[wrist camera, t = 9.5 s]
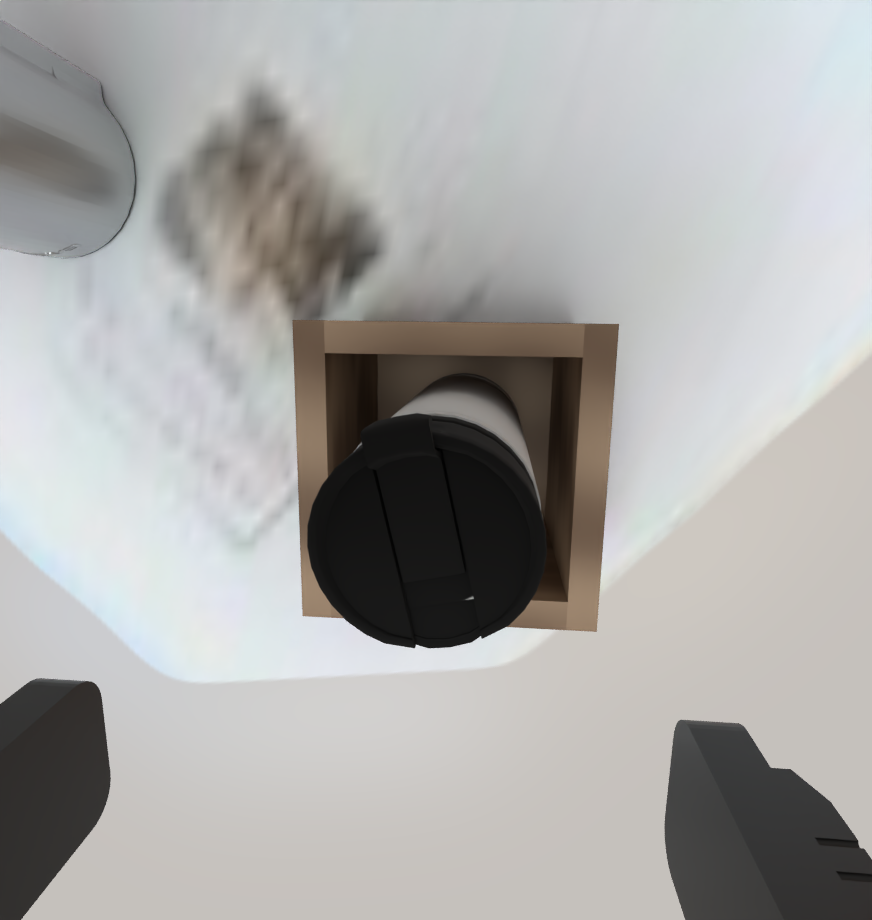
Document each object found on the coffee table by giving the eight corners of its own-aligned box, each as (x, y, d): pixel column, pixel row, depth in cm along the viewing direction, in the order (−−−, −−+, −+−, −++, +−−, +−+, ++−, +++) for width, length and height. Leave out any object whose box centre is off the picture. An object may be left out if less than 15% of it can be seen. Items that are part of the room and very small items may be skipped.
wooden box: (359, 322, 35) (292, 320, 23) (575, 325, 34) (618, 324, 22) (361, 526, 37) (302, 615, 26) (563, 534, 36) (596, 631, 25)
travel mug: (508, 356, 34) (524, 395, 14) (529, 472, 35) (571, 656, 15) (396, 378, 34) (266, 444, 15) (420, 492, 36) (330, 688, 16)
